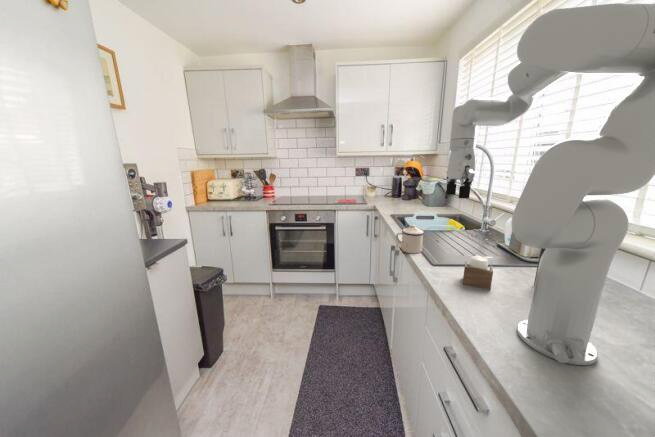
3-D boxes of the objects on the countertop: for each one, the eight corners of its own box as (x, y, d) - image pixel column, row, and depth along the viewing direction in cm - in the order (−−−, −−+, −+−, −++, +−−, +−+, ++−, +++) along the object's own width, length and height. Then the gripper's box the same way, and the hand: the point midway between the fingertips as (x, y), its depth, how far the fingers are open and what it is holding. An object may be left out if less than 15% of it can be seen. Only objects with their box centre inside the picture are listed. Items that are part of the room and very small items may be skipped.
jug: (485, 286, 76) (489, 263, 74) (467, 283, 78) (470, 260, 76) (484, 276, 82) (487, 254, 80) (467, 273, 85) (470, 252, 83)
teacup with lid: (424, 249, 109) (427, 224, 106) (418, 255, 102) (420, 229, 99) (399, 244, 116) (400, 221, 113) (391, 249, 109) (392, 224, 106)
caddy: (490, 289, 74) (493, 271, 73) (462, 284, 78) (465, 266, 76) (489, 282, 78) (491, 265, 77) (463, 277, 82) (465, 261, 80)
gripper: (489, 142, 72) (482, 199, 75) (461, 147, 89) (456, 193, 92) (463, 143, 72) (457, 199, 76) (440, 147, 89) (436, 193, 93)
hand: (456, 196), depth 84 cm, fingers open, 9 cm apart
